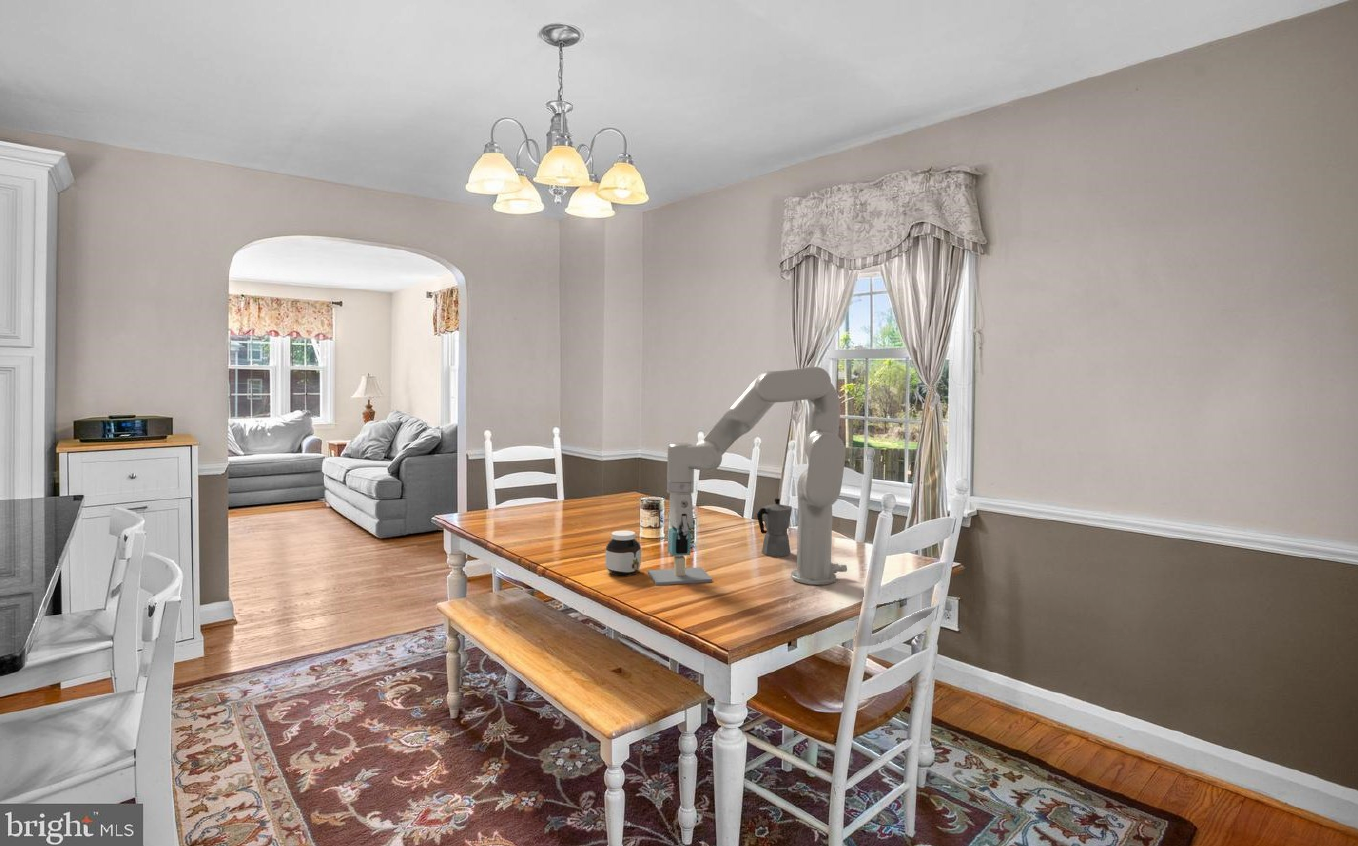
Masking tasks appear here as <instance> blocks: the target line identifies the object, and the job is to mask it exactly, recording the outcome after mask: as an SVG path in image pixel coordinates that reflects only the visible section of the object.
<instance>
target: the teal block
mask: <svg viewBox="0 0 1358 846" xmlns="http://www.w3.org/2000/svg"><path fill="white" fill-rule="evenodd" d="M667 532H668V533H667V534H668V535H667V539H668V540H667V551H668V553H669V555H671V556H672V557H674V556H684V557H685V556H691V539H692V538H691V531H690V530H689V529H688V552H687V553H684V554H677V553H676V539H677V529H676V528H672V527H670V528H668V531H667ZM680 533H681V531H680Z"/></svg>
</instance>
